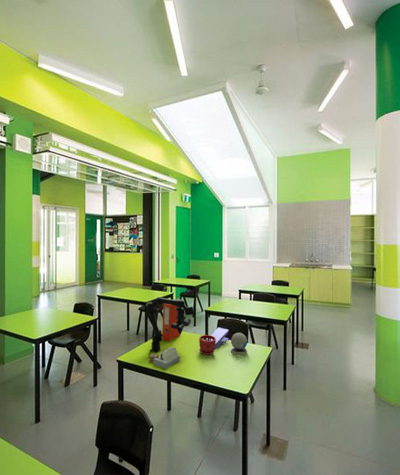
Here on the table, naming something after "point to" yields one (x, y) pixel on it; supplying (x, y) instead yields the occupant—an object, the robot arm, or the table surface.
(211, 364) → the table surface
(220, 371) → the table surface
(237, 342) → the webcam
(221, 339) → the stapler
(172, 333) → the file binder
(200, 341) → the plant pot
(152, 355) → the spacer block
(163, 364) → the channel jig
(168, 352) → the hinge
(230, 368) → the table surface
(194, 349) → the table surface
